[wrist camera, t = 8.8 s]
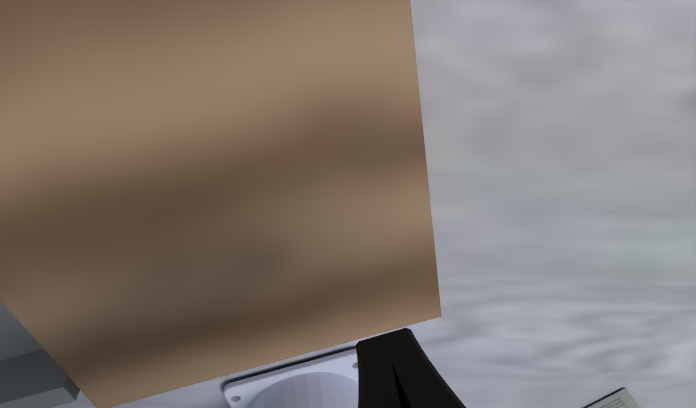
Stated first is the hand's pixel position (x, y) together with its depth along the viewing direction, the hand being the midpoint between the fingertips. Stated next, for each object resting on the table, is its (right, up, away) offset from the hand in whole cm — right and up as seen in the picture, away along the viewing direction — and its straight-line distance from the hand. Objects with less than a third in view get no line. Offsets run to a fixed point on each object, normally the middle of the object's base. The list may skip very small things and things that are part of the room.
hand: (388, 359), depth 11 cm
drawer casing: (-7, +6, +6) cm, 11 cm away
